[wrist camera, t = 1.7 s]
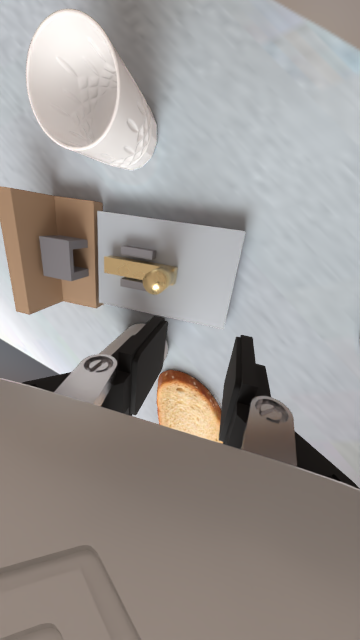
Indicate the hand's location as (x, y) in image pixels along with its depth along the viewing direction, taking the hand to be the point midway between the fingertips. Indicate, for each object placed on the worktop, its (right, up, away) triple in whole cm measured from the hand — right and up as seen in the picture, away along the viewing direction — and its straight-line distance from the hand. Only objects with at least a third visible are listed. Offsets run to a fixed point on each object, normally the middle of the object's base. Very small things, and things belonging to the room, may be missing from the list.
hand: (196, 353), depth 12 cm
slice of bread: (+1, -16, +29) cm, 33 cm away
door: (-6, +9, +19) cm, 22 cm away
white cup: (-6, +23, +14) cm, 28 cm away
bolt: (-5, +8, +17) cm, 20 cm away
